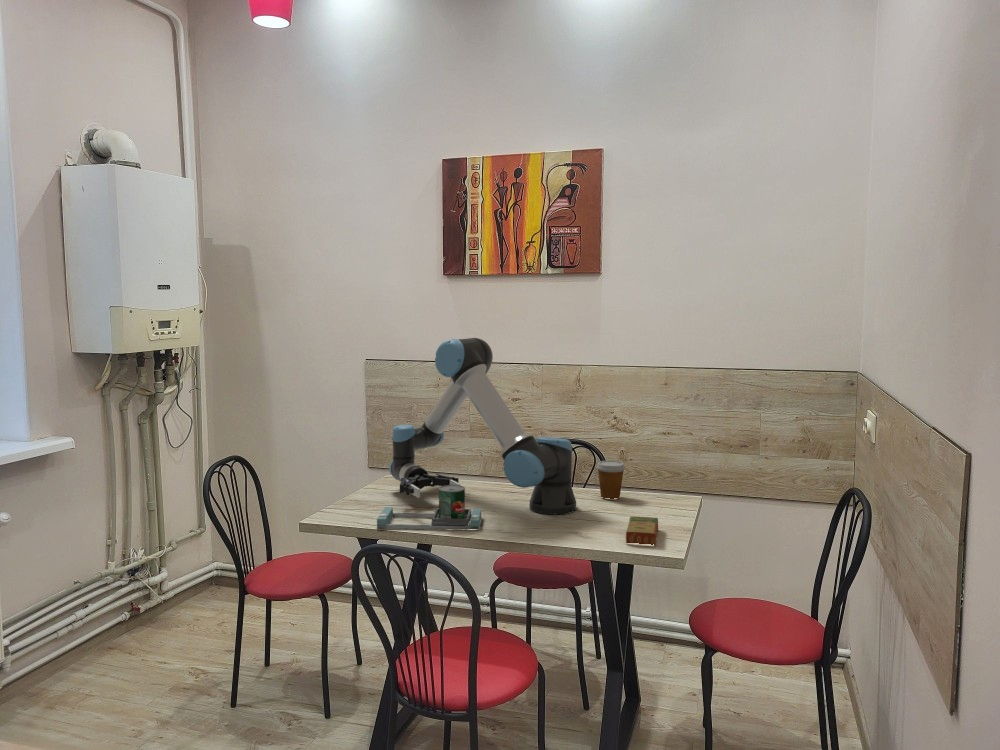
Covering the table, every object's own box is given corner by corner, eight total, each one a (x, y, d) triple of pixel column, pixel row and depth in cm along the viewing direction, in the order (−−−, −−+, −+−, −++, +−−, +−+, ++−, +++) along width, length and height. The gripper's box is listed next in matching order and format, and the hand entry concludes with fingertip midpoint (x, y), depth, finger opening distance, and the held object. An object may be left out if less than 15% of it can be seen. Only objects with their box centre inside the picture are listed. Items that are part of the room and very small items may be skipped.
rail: (481, 517, 237) (481, 514, 237) (478, 530, 224) (478, 526, 224) (384, 516, 238) (384, 512, 238) (377, 528, 225) (377, 524, 225)
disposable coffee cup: (626, 501, 256) (626, 466, 255) (597, 501, 256) (598, 466, 255) (622, 494, 266) (622, 460, 264) (594, 494, 266) (595, 460, 265)
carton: (625, 546, 212) (625, 530, 212) (629, 529, 228) (629, 515, 227) (655, 548, 210) (656, 533, 210) (658, 531, 226) (658, 516, 225)
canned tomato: (440, 519, 235) (440, 484, 234) (466, 520, 235) (466, 484, 234) (437, 527, 227) (437, 491, 226) (463, 527, 227) (463, 491, 226)
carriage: (471, 512, 237) (471, 508, 237) (468, 525, 224) (468, 520, 224) (436, 512, 237) (436, 507, 237) (431, 524, 224) (431, 519, 224)
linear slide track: (481, 517, 237) (481, 507, 237) (478, 530, 224) (478, 519, 224) (384, 516, 238) (384, 506, 238) (377, 528, 225) (376, 517, 225)
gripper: (448, 483, 263) (475, 497, 244) (378, 491, 251) (401, 507, 233) (448, 461, 262) (475, 474, 244) (378, 469, 251) (401, 483, 232)
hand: (439, 490), depth 238 cm, fingers open, 13 cm apart
